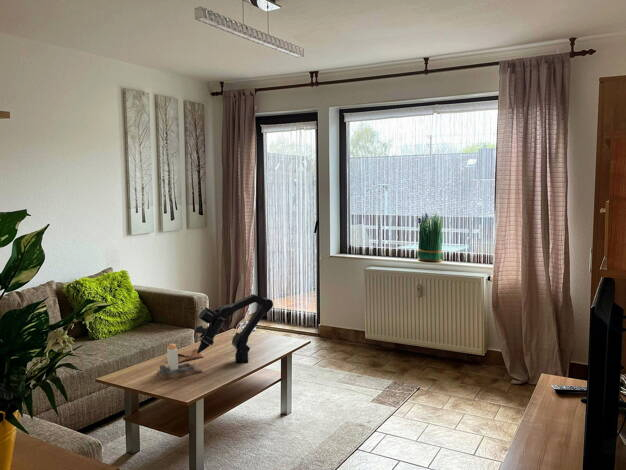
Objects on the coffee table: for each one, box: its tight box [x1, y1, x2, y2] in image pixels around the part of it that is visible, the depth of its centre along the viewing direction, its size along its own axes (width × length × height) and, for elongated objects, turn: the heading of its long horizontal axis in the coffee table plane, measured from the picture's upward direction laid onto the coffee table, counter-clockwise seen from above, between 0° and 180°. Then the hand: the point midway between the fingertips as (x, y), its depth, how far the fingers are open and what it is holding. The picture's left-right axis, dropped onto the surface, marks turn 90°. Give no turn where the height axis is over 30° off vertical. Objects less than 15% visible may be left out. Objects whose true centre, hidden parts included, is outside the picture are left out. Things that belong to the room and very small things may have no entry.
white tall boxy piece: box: [166, 343, 179, 371], centre depth 278 cm, size 4×5×14 cm
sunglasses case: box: [178, 348, 204, 365], centre depth 303 cm, size 18×7×7 cm, turn 134°
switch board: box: [157, 362, 203, 381], centre depth 280 cm, size 20×12×4 cm, turn 120°
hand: (197, 353), depth 284 cm, fingers closed
